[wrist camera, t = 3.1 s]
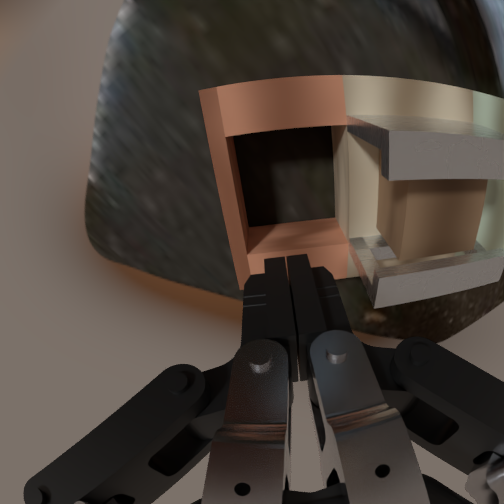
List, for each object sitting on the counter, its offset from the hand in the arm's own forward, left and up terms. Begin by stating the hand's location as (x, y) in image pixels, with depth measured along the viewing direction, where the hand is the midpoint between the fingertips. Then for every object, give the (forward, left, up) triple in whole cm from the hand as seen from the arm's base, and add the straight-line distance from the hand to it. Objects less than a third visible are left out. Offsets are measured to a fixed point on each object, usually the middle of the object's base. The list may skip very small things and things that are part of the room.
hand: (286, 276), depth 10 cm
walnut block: (-10, 0, -8) cm, 13 cm away
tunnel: (-10, 0, -8) cm, 13 cm away
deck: (-11, 0, -12) cm, 16 cm away
